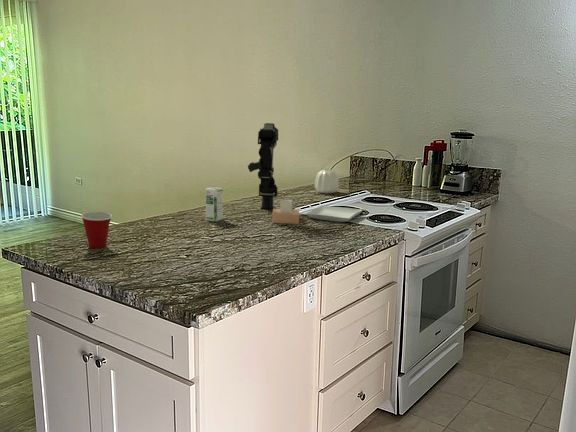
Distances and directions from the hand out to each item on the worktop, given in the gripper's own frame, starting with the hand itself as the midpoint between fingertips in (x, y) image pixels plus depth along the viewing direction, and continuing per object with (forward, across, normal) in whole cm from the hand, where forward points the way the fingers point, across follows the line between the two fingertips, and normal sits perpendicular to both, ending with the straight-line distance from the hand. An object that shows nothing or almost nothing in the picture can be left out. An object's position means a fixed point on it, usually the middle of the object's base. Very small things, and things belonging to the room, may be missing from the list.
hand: (265, 189), depth 268 cm
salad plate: (+13, 0, +32) cm, 35 cm away
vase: (+12, -66, +31) cm, 74 cm away
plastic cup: (+12, +63, -57) cm, 86 cm away
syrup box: (+12, +14, -22) cm, 29 cm away
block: (+8, +10, +10) cm, 16 cm away
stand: (+12, +10, +10) cm, 19 cm away
